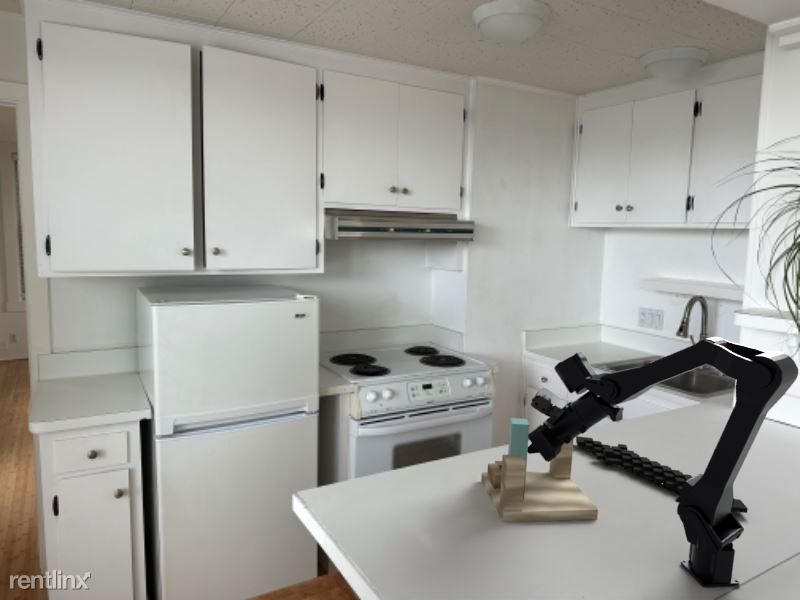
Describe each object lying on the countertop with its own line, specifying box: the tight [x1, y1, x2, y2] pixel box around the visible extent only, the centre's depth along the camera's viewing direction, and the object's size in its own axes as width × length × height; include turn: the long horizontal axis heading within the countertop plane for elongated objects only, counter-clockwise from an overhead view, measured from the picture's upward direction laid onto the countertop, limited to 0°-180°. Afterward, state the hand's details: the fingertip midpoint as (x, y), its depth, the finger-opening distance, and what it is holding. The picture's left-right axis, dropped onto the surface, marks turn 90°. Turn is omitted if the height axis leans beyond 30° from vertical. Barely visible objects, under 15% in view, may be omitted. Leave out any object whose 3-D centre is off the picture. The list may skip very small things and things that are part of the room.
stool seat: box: [480, 438, 599, 523], centre depth 116 cm, size 17×19×12 cm
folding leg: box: [507, 417, 530, 482], centre depth 116 cm, size 7×4×13 cm, turn 175°
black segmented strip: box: [575, 435, 749, 514], centre depth 130 cm, size 11×40×4 cm, turn 33°
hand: (527, 451), depth 117 cm, fingers closed, pressing on folding leg
